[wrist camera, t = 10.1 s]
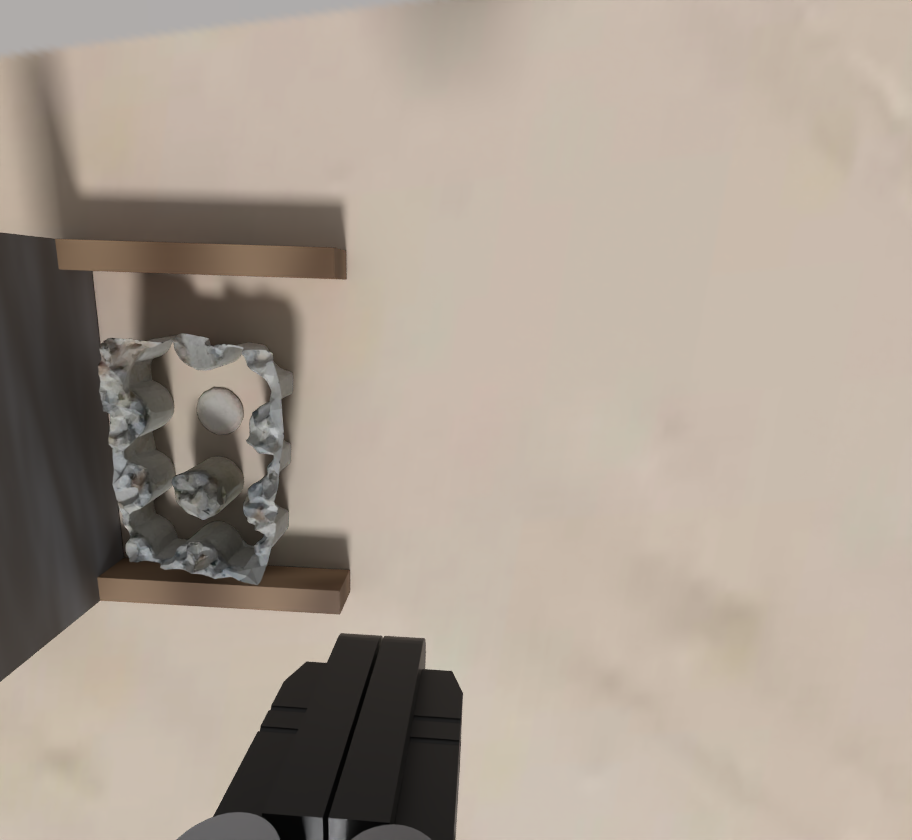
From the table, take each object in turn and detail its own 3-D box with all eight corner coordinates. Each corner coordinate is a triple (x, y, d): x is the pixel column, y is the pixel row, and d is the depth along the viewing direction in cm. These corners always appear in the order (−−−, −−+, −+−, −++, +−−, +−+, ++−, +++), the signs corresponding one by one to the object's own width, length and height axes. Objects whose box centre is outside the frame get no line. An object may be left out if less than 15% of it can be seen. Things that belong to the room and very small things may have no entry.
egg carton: (152, 321, 26) (91, 326, 22) (312, 347, 26) (280, 357, 22) (144, 533, 28) (88, 572, 24) (291, 558, 28) (259, 602, 24)
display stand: (345, 250, 24) (281, 233, 17) (349, 592, 28) (298, 707, 20) (62, 241, 25) (-130, 220, 17) (103, 578, 29) (-39, 686, 21)
